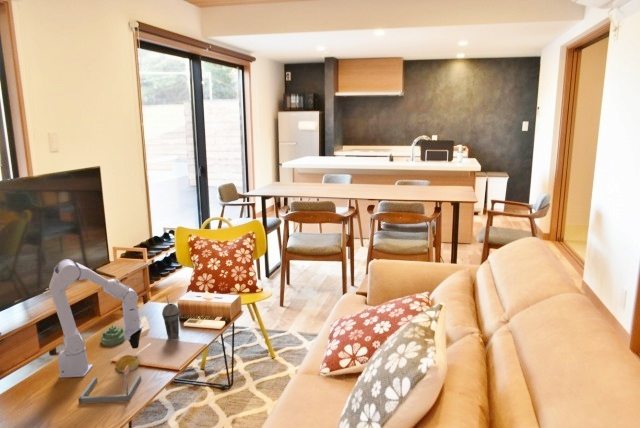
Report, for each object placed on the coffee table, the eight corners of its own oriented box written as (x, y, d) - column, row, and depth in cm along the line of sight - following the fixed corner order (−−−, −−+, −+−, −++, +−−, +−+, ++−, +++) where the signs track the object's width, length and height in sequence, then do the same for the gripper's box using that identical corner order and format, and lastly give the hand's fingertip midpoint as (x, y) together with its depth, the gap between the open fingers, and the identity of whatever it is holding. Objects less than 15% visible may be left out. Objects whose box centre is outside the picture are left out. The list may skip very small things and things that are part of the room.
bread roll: (121, 375, 180) (120, 366, 179) (113, 366, 187) (112, 357, 186) (142, 367, 186) (141, 358, 185) (134, 359, 192) (133, 350, 191)
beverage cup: (185, 335, 210) (181, 293, 206) (172, 342, 204) (167, 299, 200) (174, 332, 214) (169, 290, 209) (161, 338, 208) (156, 296, 203)
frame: (79, 403, 163) (74, 373, 161) (94, 382, 176) (90, 353, 173) (129, 401, 164) (125, 370, 161) (141, 379, 177) (137, 351, 174)
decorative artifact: (130, 338, 209) (117, 332, 215) (129, 323, 208) (116, 318, 213) (109, 348, 201) (97, 341, 207) (107, 332, 200) (94, 327, 206)
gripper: (135, 324, 185) (139, 356, 188) (146, 309, 199) (150, 338, 202) (117, 325, 185) (121, 357, 188) (129, 309, 199) (133, 339, 202)
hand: (135, 347), depth 195 cm, fingers closed
